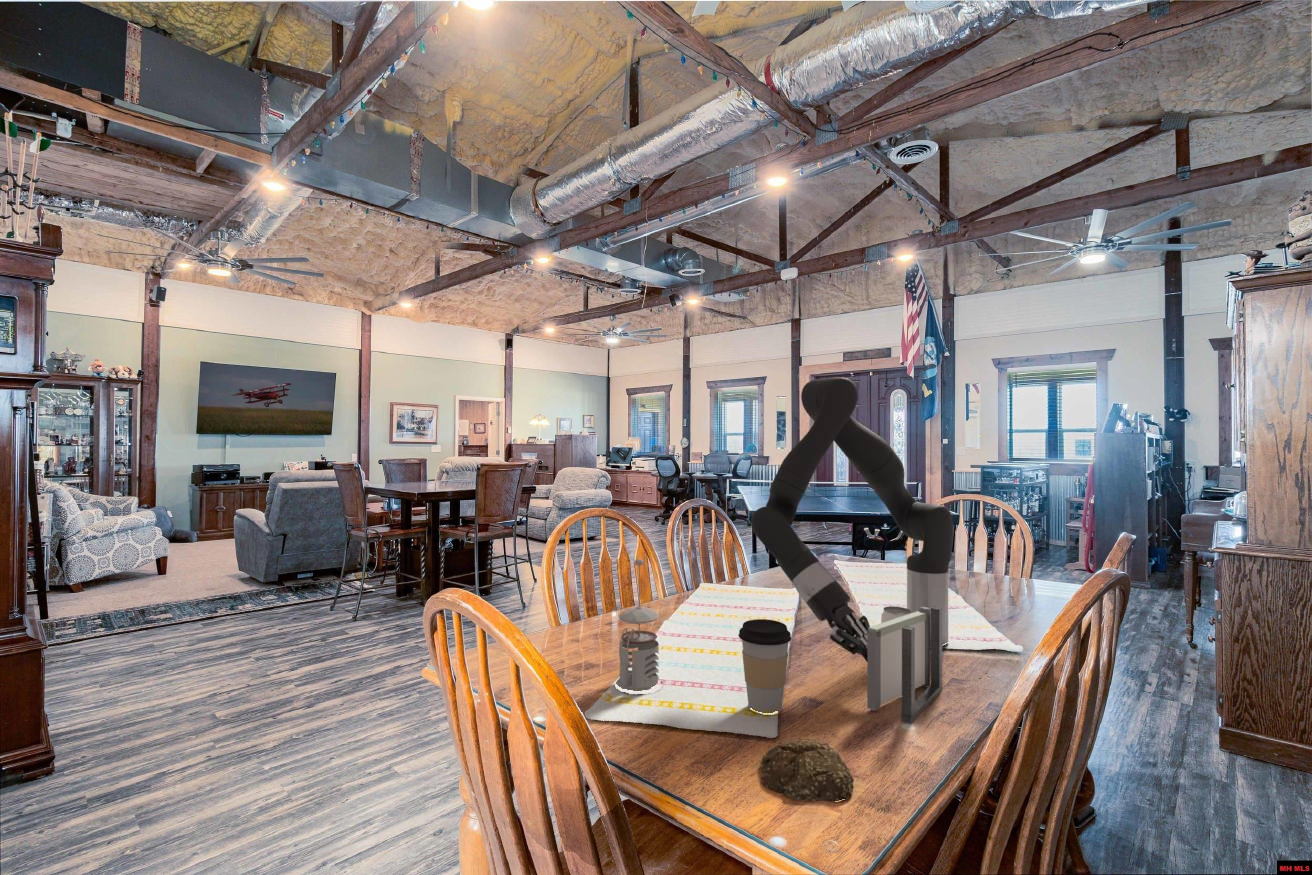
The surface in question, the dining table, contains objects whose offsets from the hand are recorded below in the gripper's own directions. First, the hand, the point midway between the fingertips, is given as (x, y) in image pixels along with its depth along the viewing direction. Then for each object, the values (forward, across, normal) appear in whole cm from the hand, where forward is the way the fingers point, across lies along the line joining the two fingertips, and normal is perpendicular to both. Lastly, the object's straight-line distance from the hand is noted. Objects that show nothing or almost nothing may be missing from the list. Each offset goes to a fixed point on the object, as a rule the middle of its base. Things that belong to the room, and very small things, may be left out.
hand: (880, 668), depth 112 cm
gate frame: (+9, +4, 0) cm, 10 cm away
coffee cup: (-6, -16, +15) cm, 23 cm away
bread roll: (+6, -32, +4) cm, 33 cm away
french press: (-22, -25, +32) cm, 46 cm away
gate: (+6, +4, +2) cm, 7 cm away
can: (+2, +21, +8) cm, 22 cm away
